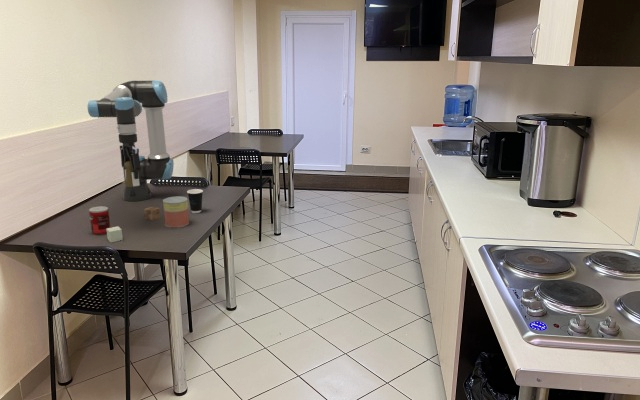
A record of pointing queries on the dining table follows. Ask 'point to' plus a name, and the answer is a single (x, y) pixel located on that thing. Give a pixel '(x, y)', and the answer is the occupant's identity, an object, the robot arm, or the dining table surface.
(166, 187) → the dining table surface
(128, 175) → the cork
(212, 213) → the dining table surface
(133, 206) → the dining table surface
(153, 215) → the walnut cube
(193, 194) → the dixie cup
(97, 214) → the canned food
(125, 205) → the dining table surface
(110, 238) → the sage cube
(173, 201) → the canned food
